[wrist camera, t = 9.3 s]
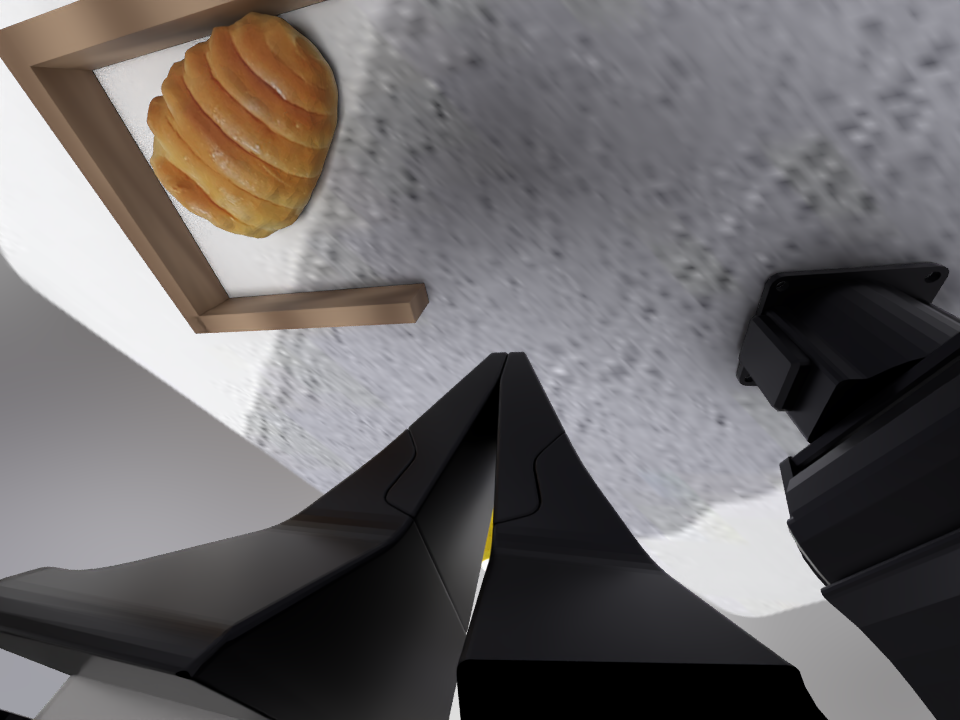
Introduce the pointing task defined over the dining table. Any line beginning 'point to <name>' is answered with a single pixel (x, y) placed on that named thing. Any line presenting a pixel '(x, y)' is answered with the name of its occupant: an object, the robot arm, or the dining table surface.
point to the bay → (128, 177)
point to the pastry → (245, 125)
